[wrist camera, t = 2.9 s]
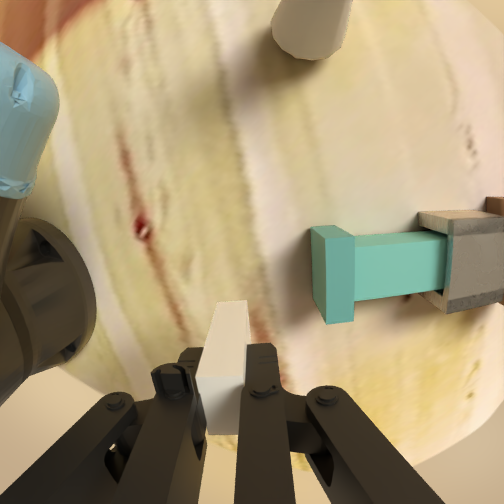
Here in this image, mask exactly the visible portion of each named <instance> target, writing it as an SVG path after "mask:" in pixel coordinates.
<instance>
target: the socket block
mask: <svg viewBox="0 0 504 504" xmlns="http://www.w3.org/2000/svg"><path fill="white" fill-rule="evenodd" d="M486 198H487V205H486V212H487V213H492V214H496V215H501V216H504V197H486ZM498 303H500V304H502V305H504V294H503V300H502V301H500V302H498Z"/></svg>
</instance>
